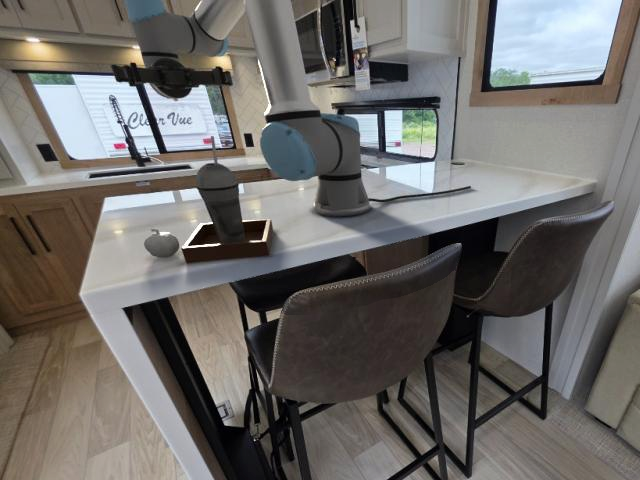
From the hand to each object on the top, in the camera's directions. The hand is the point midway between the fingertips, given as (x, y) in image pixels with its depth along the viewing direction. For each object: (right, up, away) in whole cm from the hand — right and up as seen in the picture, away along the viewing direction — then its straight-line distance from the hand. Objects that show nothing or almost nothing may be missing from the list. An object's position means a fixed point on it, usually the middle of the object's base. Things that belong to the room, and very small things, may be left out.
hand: (181, 74), depth 60 cm
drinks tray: (+5, -30, +9) cm, 32 cm away
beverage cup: (+5, -29, +9) cm, 31 cm away
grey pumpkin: (-6, -33, +4) cm, 33 cm away
